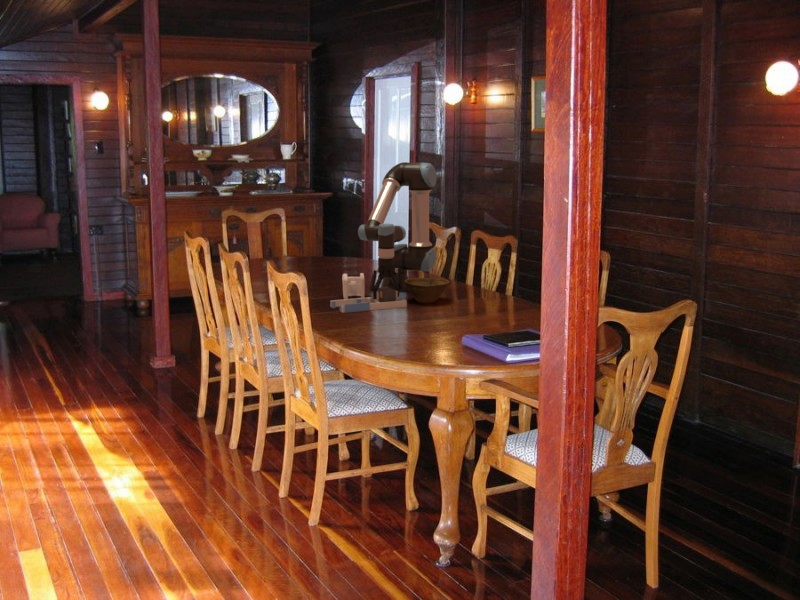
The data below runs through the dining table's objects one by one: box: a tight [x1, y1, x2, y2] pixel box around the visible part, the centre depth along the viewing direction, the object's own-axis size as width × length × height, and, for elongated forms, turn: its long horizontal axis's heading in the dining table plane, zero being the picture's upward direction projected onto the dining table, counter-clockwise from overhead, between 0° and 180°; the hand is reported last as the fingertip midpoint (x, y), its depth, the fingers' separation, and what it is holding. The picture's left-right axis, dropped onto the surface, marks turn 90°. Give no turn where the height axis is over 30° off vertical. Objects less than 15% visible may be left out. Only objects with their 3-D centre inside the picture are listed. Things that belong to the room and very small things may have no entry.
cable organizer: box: [341, 272, 366, 299], centre depth 449 cm, size 15×11×12 cm
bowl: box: [405, 277, 450, 304], centre depth 441 cm, size 22×23×10 cm
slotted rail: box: [329, 296, 408, 314], centre depth 428 cm, size 32×16×4 cm, turn 115°
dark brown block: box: [377, 286, 395, 302], centre depth 431 cm, size 5×9×8 cm, turn 25°
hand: (386, 304), depth 432 cm, fingers open, 9 cm apart
